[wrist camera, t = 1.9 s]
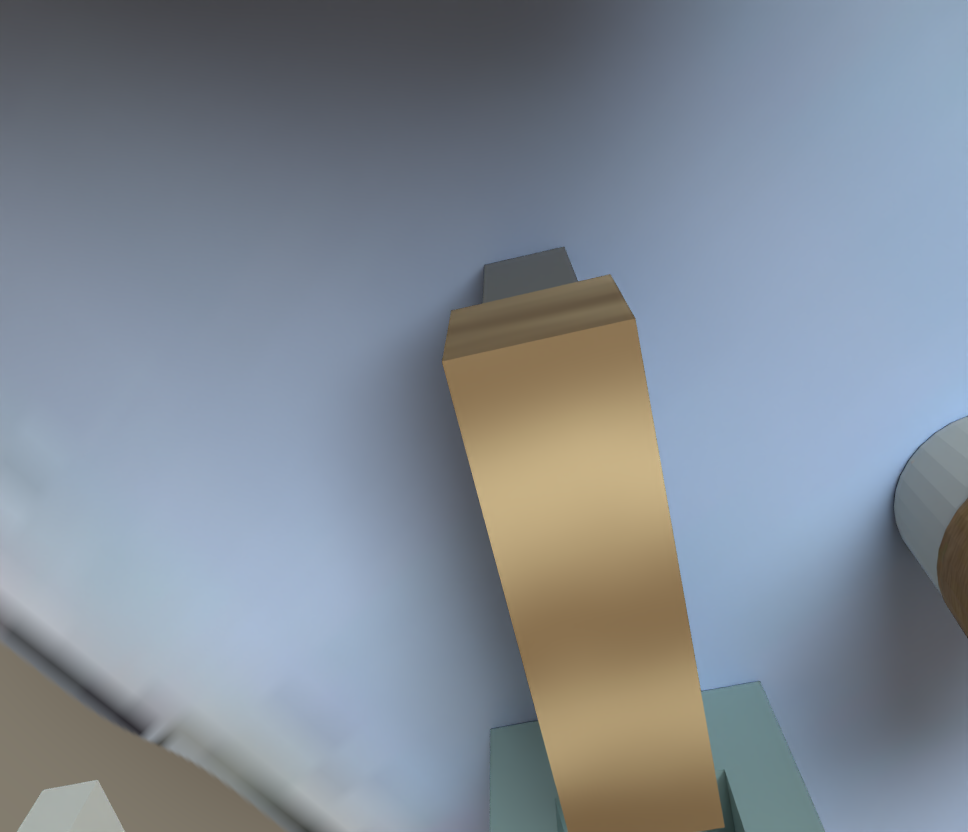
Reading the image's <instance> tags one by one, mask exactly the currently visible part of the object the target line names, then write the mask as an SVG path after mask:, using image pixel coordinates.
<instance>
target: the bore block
mask: <svg viewBox="0 0 968 832" xmlns="http://www.w3.org/2000/svg"><path fill="white" fill-rule="evenodd" d="M701 695H702V700H703V706H704V712H705V717H706V723H707V729H708V735H709V740H710V746H711V752H712V757H713V763H714V769H715V774H716V780H717V786H718V791H719V797H720V803H721V808H722V814H723V820H724V825H725V828H718V829H712V830H706V831H700V832H825V830H824V828H823V826H822V823H821V821H820V819H819V816H818V814H817V812H816V809H815V807H814V805H813V802H812V800H811V798H810V796H809V793H808V791H807V789H806V786H805V784H804V782H803V779H802V777H801V775H800V773H799V770H798V768H797V766H796V763H795V761H794V759H793V756H792V754H791V752H790V749H789V747H788V745H787V743H786V740H785V738H784V736H783V733H782V731H781V729H780V726H779V724H778V722H777V720H776V717H775V715H774V713H773V710H772V708H771V706H770V703H769V701H768V699H767V696H766V694H765V692H764V690H763V687H762V685H761V683H760V681H757V682H752V683H746V684H740V685H735V686H729V687H724V688H718V689H712V690H707V691H701ZM490 832H568V830H567V826H566V822H565V819H564V815H563V811H562V807H561V804H560V800H559V796H558V792H557V789H556V785H555V781H554V778H553V774H552V770H551V766H550V763H549V759H548V755H547V751H546V748H545V744H544V740H543V737H542V733H541V729H540V725H539V722H538V721H533V722H527V723H522V724H516V725H511V726H505V727H499V728H494V729H490Z"/></svg>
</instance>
